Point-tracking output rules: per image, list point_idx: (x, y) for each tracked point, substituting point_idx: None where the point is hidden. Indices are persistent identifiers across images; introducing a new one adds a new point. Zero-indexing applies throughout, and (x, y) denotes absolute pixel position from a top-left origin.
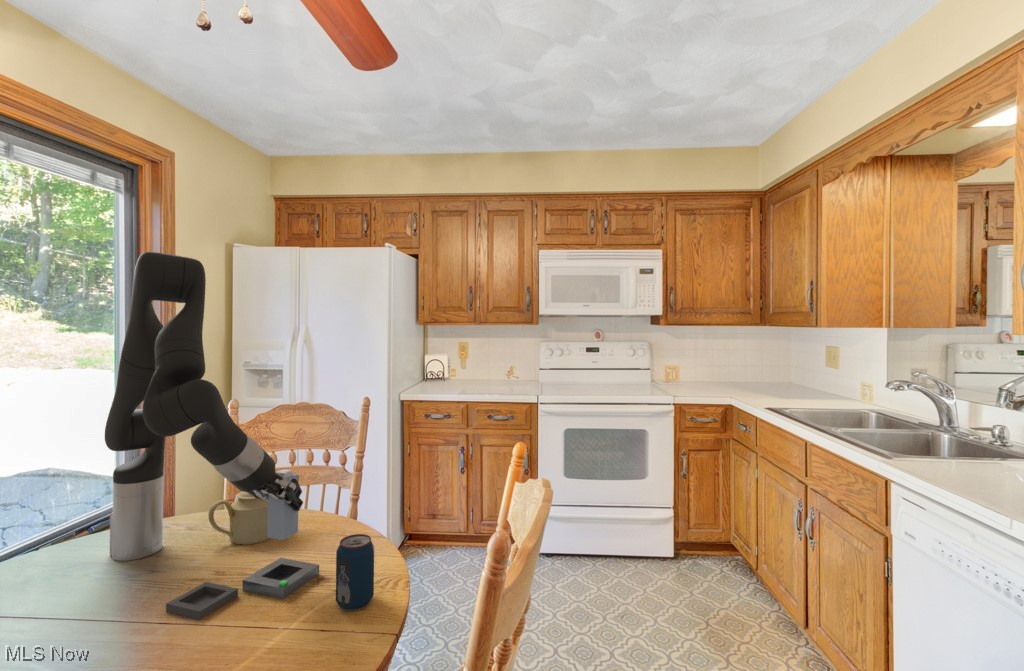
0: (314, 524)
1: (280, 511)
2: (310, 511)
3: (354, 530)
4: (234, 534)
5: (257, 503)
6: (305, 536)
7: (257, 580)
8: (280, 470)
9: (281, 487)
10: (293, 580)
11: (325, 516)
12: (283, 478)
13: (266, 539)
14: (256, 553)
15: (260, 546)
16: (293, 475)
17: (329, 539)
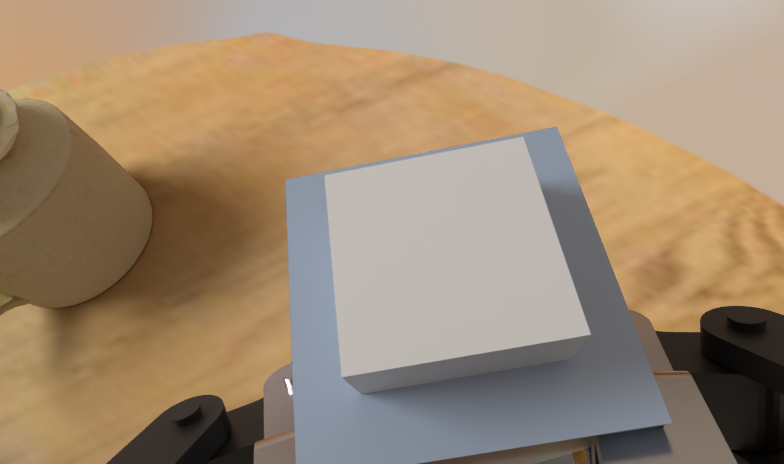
0: (212, 101)
1: (524, 461)
2: (135, 56)
3: (361, 70)
4: (30, 297)
5: (7, 188)
6: (247, 163)
7: None
8: (345, 244)
9: (598, 460)
10: (562, 457)
11: (204, 55)
12: (568, 369)
13: (145, 240)
14: (184, 318)
15: (158, 278)
16: (544, 190)
17: (336, 141)
